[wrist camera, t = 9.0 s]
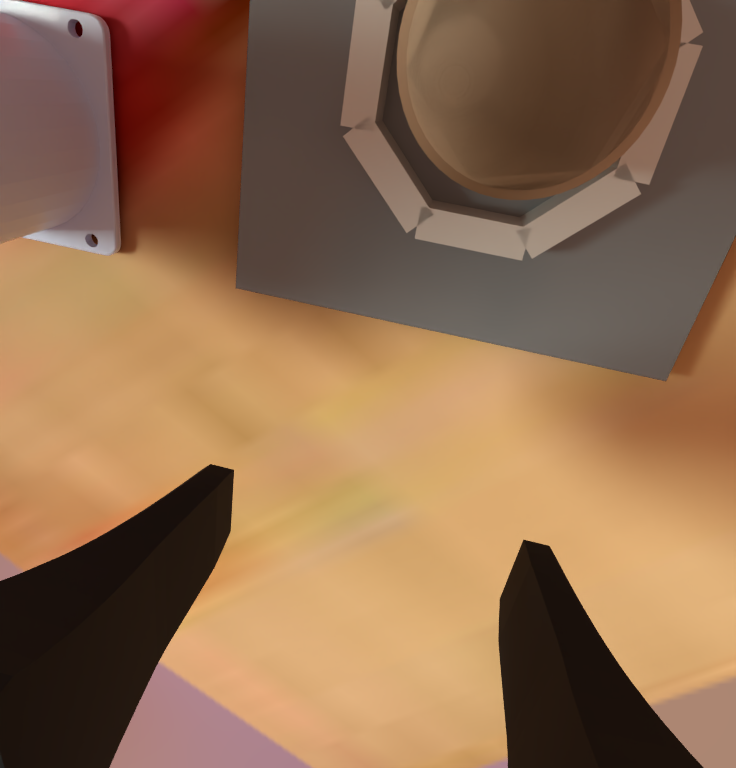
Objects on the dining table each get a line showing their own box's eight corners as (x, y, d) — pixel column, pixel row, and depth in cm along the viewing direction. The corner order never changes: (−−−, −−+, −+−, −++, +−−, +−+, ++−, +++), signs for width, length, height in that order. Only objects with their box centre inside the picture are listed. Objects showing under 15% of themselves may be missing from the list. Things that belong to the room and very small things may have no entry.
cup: (398, 146, 18) (375, 174, 12) (437, -67, 15) (428, -147, 10) (567, 180, 17) (616, 222, 12) (637, -31, 15) (736, -92, 10)
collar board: (245, 280, 22) (219, 300, 20) (279, -318, 14) (244, -394, 12) (657, 369, 21) (679, 401, 19) (936, -230, 13) (1029, -296, 11)
